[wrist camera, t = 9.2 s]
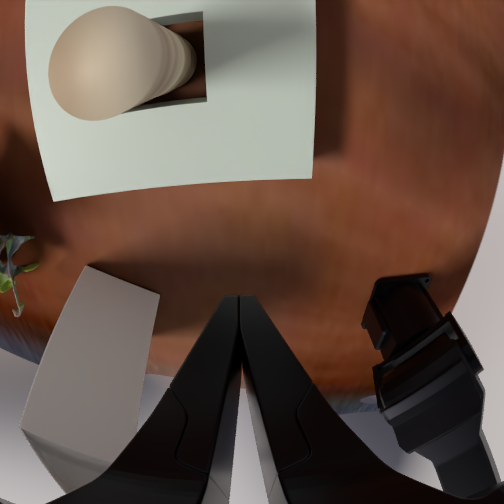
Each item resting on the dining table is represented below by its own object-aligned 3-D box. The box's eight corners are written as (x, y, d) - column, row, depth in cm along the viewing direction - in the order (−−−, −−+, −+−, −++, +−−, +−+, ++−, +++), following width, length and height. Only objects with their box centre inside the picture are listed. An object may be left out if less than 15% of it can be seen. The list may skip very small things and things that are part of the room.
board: (299, -40, 10) (312, -56, 8) (300, 161, 19) (311, 178, 16) (50, 1, 10) (26, -3, 7) (72, 182, 18) (53, 201, 15)
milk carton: (78, 312, 25) (26, 492, 10) (85, 262, 22) (5, 485, 7) (141, 337, 28) (116, 521, 12) (161, 292, 24) (130, 527, 9)
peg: (196, 31, 13) (158, -9, 5) (199, 87, 15) (164, 111, 7) (135, 40, 13) (44, 27, 5) (139, 95, 15) (55, 133, 7)
